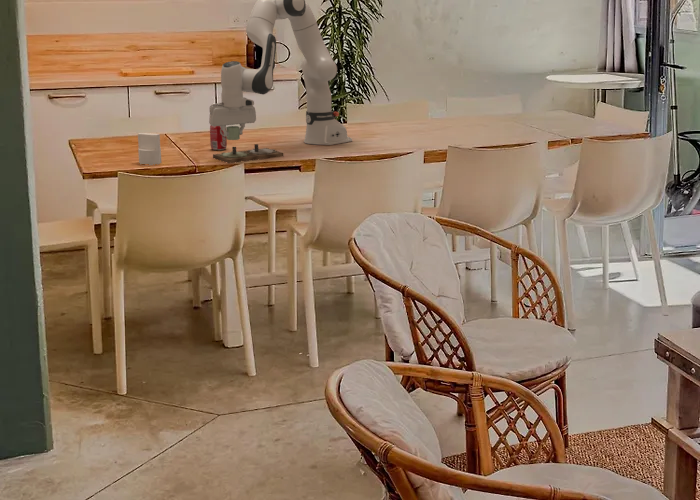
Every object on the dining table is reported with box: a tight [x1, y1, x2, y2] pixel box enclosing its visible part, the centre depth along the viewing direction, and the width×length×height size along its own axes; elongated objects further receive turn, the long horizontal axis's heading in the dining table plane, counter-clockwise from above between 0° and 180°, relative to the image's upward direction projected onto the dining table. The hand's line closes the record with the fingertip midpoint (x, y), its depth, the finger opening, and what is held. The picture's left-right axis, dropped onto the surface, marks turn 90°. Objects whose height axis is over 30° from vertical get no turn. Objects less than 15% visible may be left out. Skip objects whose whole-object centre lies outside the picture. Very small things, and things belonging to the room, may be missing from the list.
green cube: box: [226, 125, 241, 141], centre depth 416 cm, size 5×5×5 cm
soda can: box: [209, 124, 228, 152], centre depth 438 cm, size 7×7×12 cm
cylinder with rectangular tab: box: [137, 132, 162, 166], centre depth 409 cm, size 9×9×12 cm
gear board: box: [212, 143, 284, 164], centre depth 421 cm, size 26×14×5 cm, turn 124°
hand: (233, 135), depth 416 cm, fingers closed on green cube, 5 cm apart
